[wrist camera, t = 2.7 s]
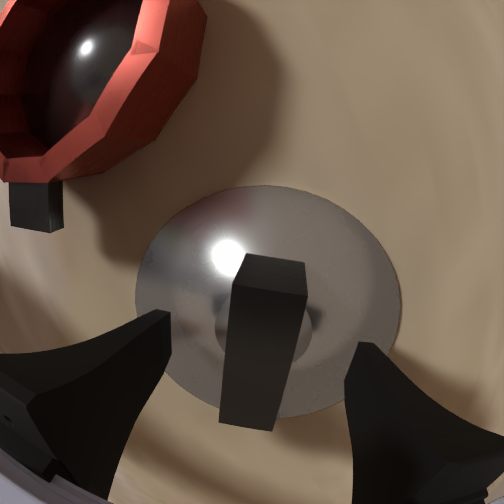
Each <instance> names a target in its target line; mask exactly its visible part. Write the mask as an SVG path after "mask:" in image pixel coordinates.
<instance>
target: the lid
mask: <svg viewBox="0 0 504 504" xmlns="http://www.w3.org/2000/svg"><path fill="white" fill-rule="evenodd" d="M135 304H136V312H137V318H138V317H140V316H142V315H144V314H146V313H148V312H150V311H152V310H155V309H159V310H164V311H168V312H171V341H172V355H171V357H170V360H169V362H168V365H167V367H166V369H165V372H166V373H167V374H168V375H169V376H170V377H171V378H172V379H173V380H174V381H175V382H176V383H177V384H179V385H180V386H181V387H182V388H183V389H185V390H186V391H188V392H189V393H191V394H192V395H194V396H195V397H197V398H199V399H200V400H202V401H204V402H206V403H208V404H210V405H213V406H215V407H217V408H219V409H220V412H219V423H224V424H229V425H234V426H240V427H245V428H251V429H258V430H265V431H272V430H273V427H274V424H275V420H276V418H287V417H295V416H300V415H306V414H309V413H313V412H316V411H319V410H322V409H325V408H327V407H330V406H332V405H334V404H336V403H338V402H340V401H342V400H343V399H344V379H345V377H346V374H347V372H348V369H349V366H350V364H351V361H352V358H353V356H354V353H355V350H356V347H357V345H358V342H359V341H361V342H372V343H374V344H375V345H377V346H378V347H379V348H380V349H381V350H382V352H383V353H384V354H385V355H386V356H387V355H388V353H389V351H390V349H391V347H392V344H393V341H394V338H395V335H396V332H397V328H398V323H399V317H400V296H399V289H398V283H397V279H396V276H395V273H394V270H393V267H392V265H391V263H390V261H389V259H388V256H387V254H386V252H385V251H384V249H383V248H382V246H381V245H380V244H379V242H378V241H377V239H376V238H375V237H374V235H373V234H372V233H371V232H370V231H369V230H368V229H367V228H366V227H365V226H364V225H363V224H362V223H361V222H360V221H359V220H358V219H356V218H355V217H354V216H353V215H351V214H350V213H349V212H347V211H346V210H345V209H343V208H341V207H340V206H338V205H336V204H334V203H332V202H331V201H329V200H327V199H325V198H322V197H320V196H317V195H314V194H312V193H309V192H306V191H302V190H298V189H293V188H289V187H282V186H270V185H259V186H244V187H239V188H234V189H229V190H224V191H221V192H219V193H216V194H213V195H210V196H207V197H205V198H203V199H201V200H199V201H197V202H196V203H194V204H192V205H190V206H188V207H186V208H185V209H184V210H182V211H181V212H180V213H178V214H177V215H176V216H174V217H173V218H172V219H171V220H170V221H169V222H168V223H167V224H166V225H165V226H164V227H163V228H162V229H161V230H160V231H159V232H158V234H157V235H156V236H155V238H154V239H153V241H152V242H151V244H150V245H149V247H148V249H147V251H146V253H145V255H144V257H143V259H142V262H141V265H140V268H139V272H138V276H137V282H136V290H135Z"/></svg>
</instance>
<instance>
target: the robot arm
mask: <svg viewBox="0 0 504 504" xmlns="http://www.w3.org/2000/svg"><path fill="white" fill-rule="evenodd" d="M171 355H172V341H171V312H168V311H164V310H159V309H155V310H152V311H150V312H148V313H146V314H144V315H142V316H140V317H138V318H136V319H134V320H132V321H130V322H128V323H126V324H124V325H122V326H120V327H118V328H116V329H114V330H111V331H109V332H107V333H104V334H102V335H100V336H98V337H95V338H92V339H90V340H87V341H84V342H81V343H77V344H74V345H71V346H67V347H62V348H58V349H53V350H48V351H41V352H34V353H21V354H0V504H113V503H111V502H109V501H107V500H108V496H109V493H110V489H111V485H112V482H113V479H114V475H115V472H116V469H117V467H118V464H119V461H120V458H121V455H122V453H123V450H124V447H125V445H126V442H127V440H128V437H129V435H130V433H131V430H132V428H133V426H134V424H135V421H136V419H137V418H138V416H139V414H140V412H141V410H142V409H143V407H144V405H145V404H146V402H147V400H148V399H149V397H150V396H151V394H152V392H153V391H154V389H155V387H156V386H157V384H158V382H159V381H160V379H161V377H162V375H163V374H164V372H165V369H166V367H167V365H168V362H169V360H170V357H171ZM344 400H345V408H346V414H347V420H348V426H349V432H350V438H351V445H352V453H353V493H352V504H485V502H484V499H485V498H487V497H488V491H487V487H488V486H489V485H490V484H492V483H493V482H494V481H495V480H496V479H497V478H498V477H499V476H500V475H501V474H502V473H503V472H504V436H501V435H499V434H496V433H493V432H490V431H487V430H484V429H482V428H480V427H478V426H475V425H473V424H471V423H469V422H467V421H465V420H463V419H462V418H460V417H458V416H456V415H455V414H453V413H452V412H450V411H448V410H447V409H445V408H444V407H442V406H441V405H439V404H438V403H437V402H435V401H434V400H433V399H432V398H430V397H429V396H428V395H426V394H425V393H424V392H423V391H422V390H421V389H419V388H418V387H417V386H416V385H415V384H414V383H413V382H412V381H411V380H410V379H409V378H408V377H407V376H406V375H405V374H404V373H403V372H402V371H401V370H400V369H399V368H398V367H397V366H396V365H395V364H394V363H393V362H392V361H391V360H390V359H389V358H388V357H387V356H386V355H385V354H384V353H383V352H382V350H381V349H380V348H379V347H378V346H377V345H375V344H374V343H372V342H361V341H359V342H358V345H357V347H356V350H355V353H354V356H353V358H352V361H351V364H350V366H349V369H348V372H347V374H346V377H345V379H344ZM489 504H504V496H503V497H500V498H498V499H496V500H494V501H492V502H490V503H489Z"/></svg>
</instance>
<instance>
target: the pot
mask: <svg viewBox="0 0 504 504" xmlns="http://www.w3.org/2000/svg"><path fill="white" fill-rule="evenodd" d="M206 20H207V16H206V14H205V13H204V11H203V9H202V7H201V5H200V4H199V2H198V0H9V1H8V2H7V4H6V6H5V7H4V9H3V11H2V12H1V14H0V178H1V180H2V181H3V182H9V207H10V221H11V226H14V227H19V228H25V229H30V230H35V231H41V232H46V233H52V232H54V231H57V230H59V229H62V228H64V220H63V180H66V179H71V178H77V177H82V176H88V175H94V174H101V173H103V172H105V171H106V170H108V169H109V168H111V167H112V166H114V165H115V164H117V163H118V162H120V161H121V160H123V159H124V158H126V157H128V156H129V155H131V154H132V153H134V152H136V151H137V150H139V149H140V148H142V147H144V146H145V145H147V144H149V143H150V142H152V141H154V140H156V137H157V136H158V134H159V133H160V131H161V130H162V128H163V126H164V125H165V123H166V122H167V120H168V119H169V117H170V116H171V114H172V113H173V111H174V110H175V109H176V107H177V106H178V104H179V103H180V101H181V100H182V98H183V97H184V96H185V94H186V93H187V92H188V90H189V89H190V87H191V86H192V85H193V83H194V82H195V81H196V80H197V73H198V66H199V60H200V54H201V48H202V42H203V36H204V31H205V26H206Z"/></svg>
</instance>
